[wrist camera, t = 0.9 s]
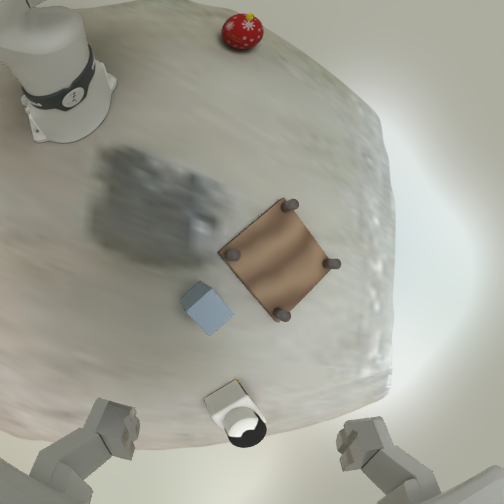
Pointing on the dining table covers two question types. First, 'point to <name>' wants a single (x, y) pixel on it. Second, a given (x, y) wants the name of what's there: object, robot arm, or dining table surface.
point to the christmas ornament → (242, 31)
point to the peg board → (278, 259)
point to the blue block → (206, 308)
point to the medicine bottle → (236, 415)
